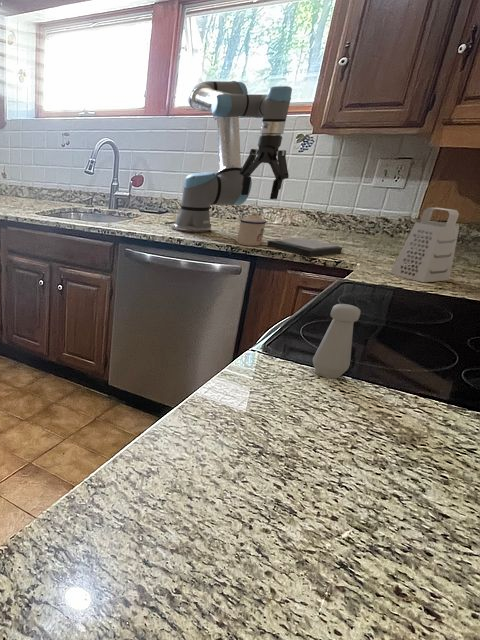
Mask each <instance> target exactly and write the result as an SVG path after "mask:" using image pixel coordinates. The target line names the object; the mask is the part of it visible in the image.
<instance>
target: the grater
mask: <svg viewBox="0 0 480 640" xmlns="http://www.w3.org/2000/svg"><path fill="white" fill-rule="evenodd" d="M435 210H441V211H447V213H448V214H449V215H448V218H447V221H446V223H445V222H440V221H431V218H432V215H433V212H434V211H435ZM459 216H460V213H459V211H458V209H450V208H443V207H437V206H436V207H427V208H426V209H424V210H423V212H422V215H421V219H420V221H416V222H415V223H414V225H413V227H412V228H411V229H410V232H409V234H408V236H407V238H406V239H405V242H404V243H403V245H402V248H401V250H400V252H399V253H398V255H397V257H396V260H395V262H394V263H393V266H392V268H391V270H390V272H389V274H390V275H394V276H398V277H402V278H405V279H409V280H413V281H417V282H420V283H430V282H431V283H432V282H442V281H443V282H444V281H450V278H451V274H452V268H453V262H454V257H455V251H456V248H457V247H456V246H457V241H458V236H459V232H460V231H459V230H460V225H458V224H457V221H458V219H459ZM405 264H406V265H405ZM413 274H414V275H413Z"/></svg>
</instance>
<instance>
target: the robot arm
mask: <svg viewBox="0 0 480 640" xmlns="http://www.w3.org/2000/svg"><path fill="white" fill-rule="evenodd" d="M292 92H293V88H292V87H291V86H288V85H275V86H271V87H269V88H268V92H267V93H266V94H254V93H253V94H250V93H249V92H248V88H247V85H246V84H245V83H244V82H242V81H236V80H231V81H225V80H224V81H223V80H221V81H220V80H219V81H217V80H216V81H215V80H207V81H202V82H199V83H197V84H196V85H194V86H193V87H192V88H191V90H189V93H188V96H187V102H188V105H189V107H191V109H193V110H196V111H200V112H210V113H211V115H212V117H213V119H214V120H215V121H216V132H217V134H216V135H217V157H218V159H217V160H218V161H217V162H218V171H217V172H213V171H202V172H194V173H191V174H188V175H187V176H186V177H185V179H184V183H183V189H182V196H181V204H180V210H179V212H178V215H177V216H176V220H175V221H167V222H164V225H168V224H169V225H170V224H171V225H172V224H173V227H172V228H173V230H175V231H180V232H186V233H209V232H211V229H212V224H211V217H210V207H211V206H241V205H242V204H244V203H245V202H247V199H248V197H249V195H250V194H251V190H252V183H253V181H252V180H253V179H252V174H253V173H254V172H255V170H257V168H258V167H259V166H260V165H261V164H263V163H265V164H268V165H269V166H270V168H271V170H272V173H273V175H274V177H275V179H273V182H272V186H271V191H270V197H269V200H278V197H279V192H280V190H281V189H282V184H283V181H284V180H287V179H289V177H290V174H289V169H288V163H287V158H286V155H287V150H285V149H279V148H280V147H281V145H282V140H283V136H282V135H284V131H285V126H286V121H287V117H288V113H289V108H290V103H291V100H292ZM248 93H249V94H248ZM240 118H256V119H258V118H259V119H261V120H262V122H261V127H260V132H259V134H260V136H258V141H257V147H258V148H251V149H250V151H249V155H248V156H247V158H246V160H245V162H244V164H243V165H242V163H241V162H242V161H241V137H240ZM241 165H242V166H241Z"/></svg>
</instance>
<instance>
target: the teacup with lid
mask: <svg viewBox="0 0 480 640" xmlns="http://www.w3.org/2000/svg"><path fill="white" fill-rule="evenodd" d="M239 221H240V223H239V228H238V233H237V238H236V243H237V244H239V245H242V246H250V247H252V246H253V247H254V246H255V247H256V246H260V245H261V244H262V242H263V241H262V240H263V236H264V232H265V227H266V224H267V219H266V218H263V217H261V216H260V215H258V212H256V211H253V212H251V214H249V215H247V216H244V217H241V218H240V220H239Z"/></svg>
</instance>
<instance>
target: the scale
mask: <svg viewBox="0 0 480 640" xmlns="http://www.w3.org/2000/svg"><path fill="white" fill-rule="evenodd" d="M267 247H270V248H273V249H276V250H281V251H284V252H289V253H292V254H297V255H302V256H305V257H308V258H309V257H318V256H327V255H328V256H329V255H338V254H342V250H343V247H341V246H340V245H336V244H333V243H327V242H323V241H318V240H315V239H314V240H313V239H309V238H304V237H296V238H286V239H277V240H276V239H275V240H267Z"/></svg>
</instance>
